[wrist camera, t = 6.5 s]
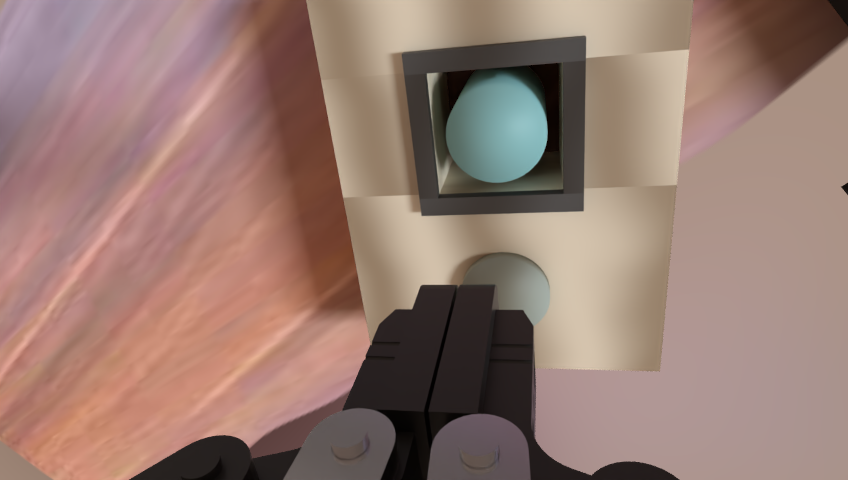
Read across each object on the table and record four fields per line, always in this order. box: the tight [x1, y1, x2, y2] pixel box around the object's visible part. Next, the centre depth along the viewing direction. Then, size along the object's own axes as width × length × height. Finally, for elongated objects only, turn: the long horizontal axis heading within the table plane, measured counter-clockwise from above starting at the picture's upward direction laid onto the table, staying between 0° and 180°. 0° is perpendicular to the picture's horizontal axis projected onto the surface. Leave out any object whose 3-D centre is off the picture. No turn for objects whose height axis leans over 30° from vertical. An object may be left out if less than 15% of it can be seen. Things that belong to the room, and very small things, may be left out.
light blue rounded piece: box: [446, 65, 548, 183], centre depth 25 cm, size 4×4×6 cm
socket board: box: [306, 0, 694, 371], centre depth 26 cm, size 14×18×6 cm
